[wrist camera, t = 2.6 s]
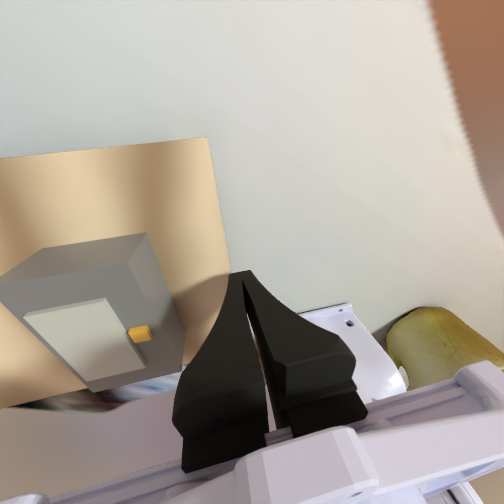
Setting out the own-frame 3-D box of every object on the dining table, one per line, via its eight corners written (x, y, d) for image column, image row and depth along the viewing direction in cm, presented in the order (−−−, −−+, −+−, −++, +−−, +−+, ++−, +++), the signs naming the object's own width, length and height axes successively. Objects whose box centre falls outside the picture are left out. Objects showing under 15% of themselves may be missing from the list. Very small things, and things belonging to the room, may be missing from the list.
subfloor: (203, 117, 11) (202, 110, 8) (240, 325, 21) (246, 356, 18) (-245, 157, 9) (-469, 167, 6) (25, 373, 18) (-10, 419, 15)
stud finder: (146, 232, 10) (125, 266, 8) (185, 330, 15) (181, 375, 12) (42, 248, 10) (-22, 291, 7) (113, 346, 14) (90, 397, 11)
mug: (472, 288, 22) (574, 396, 16) (441, 314, 30) (502, 394, 24) (360, 318, 25) (411, 420, 19) (358, 334, 33) (394, 411, 27)
